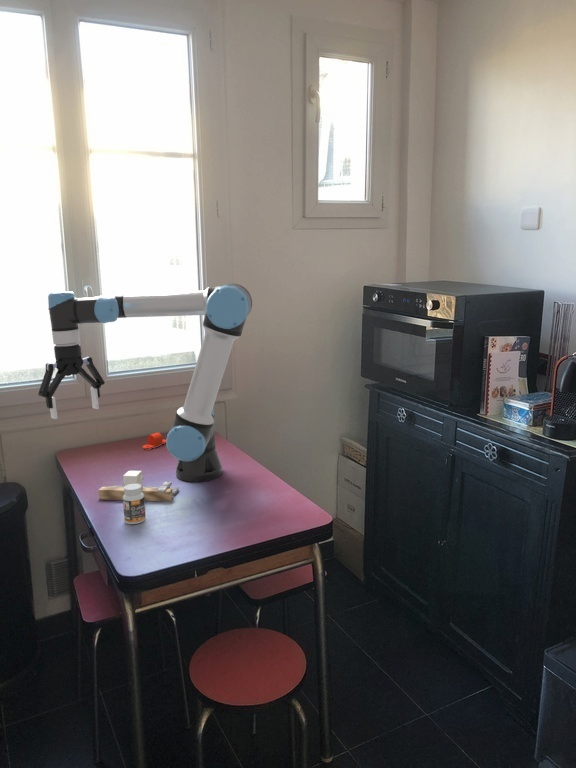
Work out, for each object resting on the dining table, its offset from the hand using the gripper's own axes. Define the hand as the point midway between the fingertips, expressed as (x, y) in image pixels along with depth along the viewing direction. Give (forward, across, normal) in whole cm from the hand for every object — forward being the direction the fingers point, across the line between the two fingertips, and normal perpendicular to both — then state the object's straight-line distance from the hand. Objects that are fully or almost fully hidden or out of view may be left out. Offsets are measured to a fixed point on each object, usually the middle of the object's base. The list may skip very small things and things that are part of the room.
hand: (75, 413), depth 190 cm
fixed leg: (+24, -13, +24) cm, 37 cm away
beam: (+25, -6, +18) cm, 32 cm away
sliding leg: (+25, -8, +17) cm, 31 cm away
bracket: (+26, -41, -21) cm, 52 cm away
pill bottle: (+26, +2, +32) cm, 41 cm away
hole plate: (+25, -10, +15) cm, 31 cm away
